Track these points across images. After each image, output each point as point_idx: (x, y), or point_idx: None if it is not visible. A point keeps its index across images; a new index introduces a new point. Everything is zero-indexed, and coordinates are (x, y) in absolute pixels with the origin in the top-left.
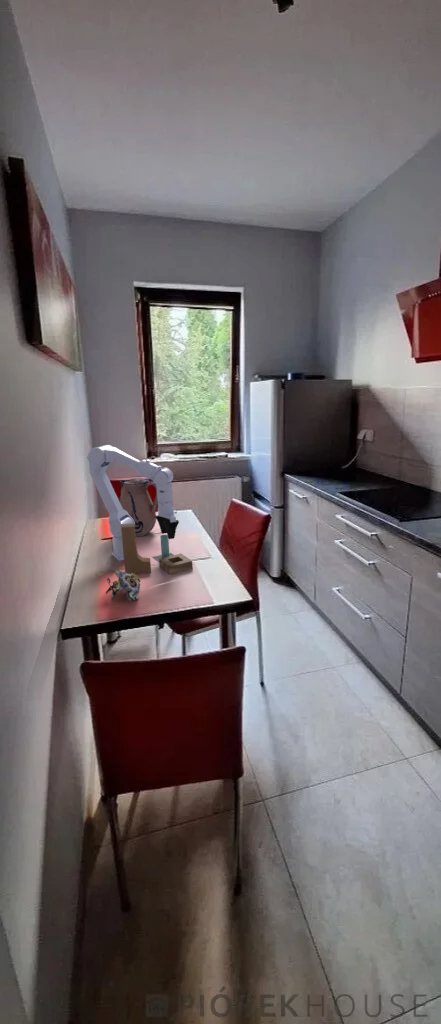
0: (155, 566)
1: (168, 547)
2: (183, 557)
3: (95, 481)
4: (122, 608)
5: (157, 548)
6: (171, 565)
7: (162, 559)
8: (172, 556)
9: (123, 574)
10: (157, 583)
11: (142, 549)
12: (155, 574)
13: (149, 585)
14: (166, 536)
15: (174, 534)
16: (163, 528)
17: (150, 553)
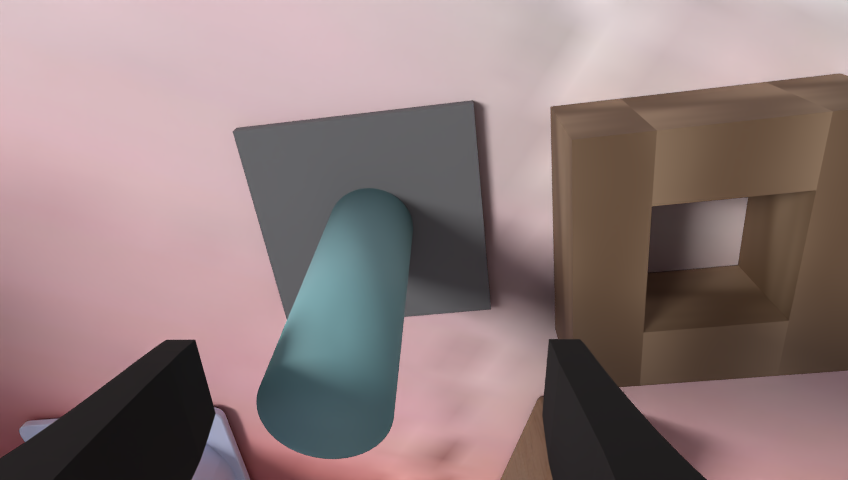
0: (506, 348)
1: (391, 266)
2: (726, 161)
3: None
4: None
5: (20, 204)
6: (837, 348)
7: (614, 370)
8: (600, 262)
9: None
10: (840, 421)
11: (22, 332)
12: (670, 390)
13: (824, 467)
14: (369, 392)
15: (617, 393)
16: (161, 472)
17: (158, 301)
